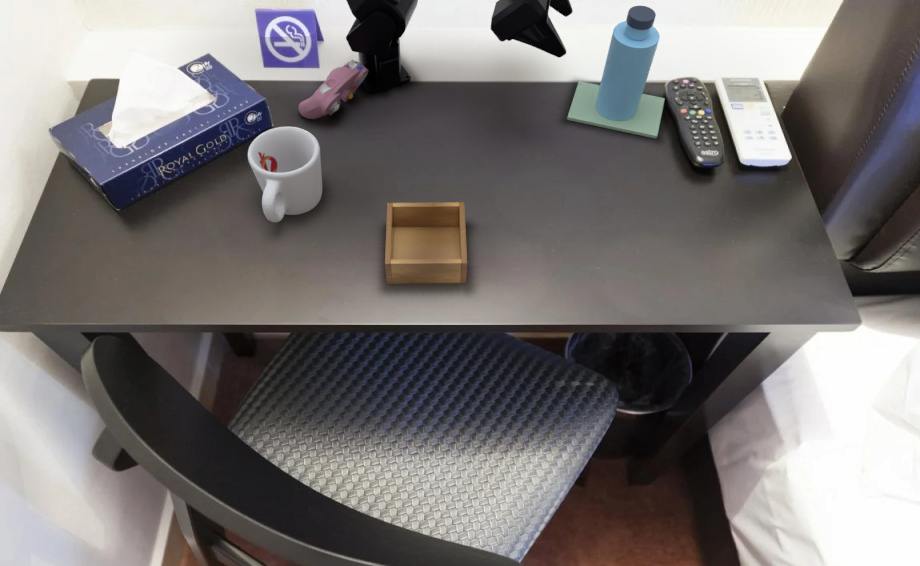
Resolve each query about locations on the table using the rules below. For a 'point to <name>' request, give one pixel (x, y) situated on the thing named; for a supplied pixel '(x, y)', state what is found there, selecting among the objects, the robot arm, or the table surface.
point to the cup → (287, 171)
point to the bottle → (628, 65)
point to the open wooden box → (426, 243)
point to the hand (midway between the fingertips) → (566, 33)
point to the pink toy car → (334, 90)
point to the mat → (587, 113)
